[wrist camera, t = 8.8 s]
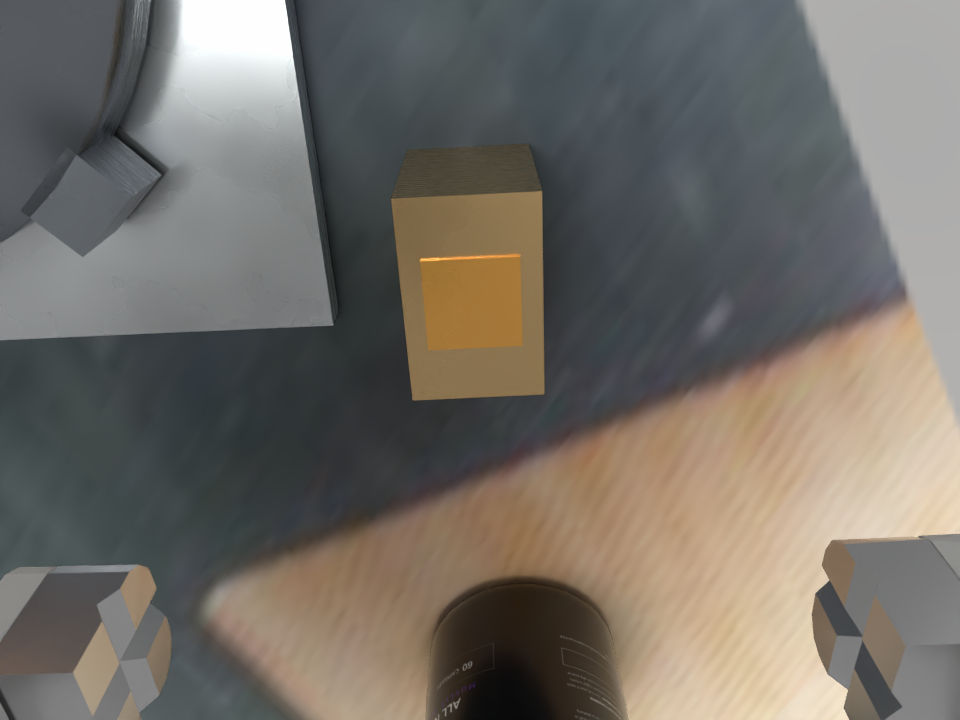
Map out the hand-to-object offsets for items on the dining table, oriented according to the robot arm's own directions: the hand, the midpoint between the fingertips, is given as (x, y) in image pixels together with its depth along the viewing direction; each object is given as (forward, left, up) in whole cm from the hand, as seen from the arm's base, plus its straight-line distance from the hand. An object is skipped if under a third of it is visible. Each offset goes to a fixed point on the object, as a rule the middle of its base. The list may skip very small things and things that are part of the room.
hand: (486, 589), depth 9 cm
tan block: (0, 0, -14) cm, 14 cm away
